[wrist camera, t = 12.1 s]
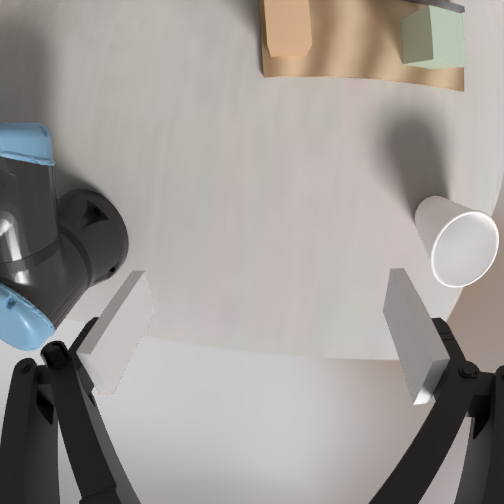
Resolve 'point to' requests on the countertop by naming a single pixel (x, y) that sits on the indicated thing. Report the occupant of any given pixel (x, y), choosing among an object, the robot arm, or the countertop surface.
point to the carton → (433, 39)
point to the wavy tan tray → (360, 43)
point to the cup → (456, 240)
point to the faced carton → (288, 27)
